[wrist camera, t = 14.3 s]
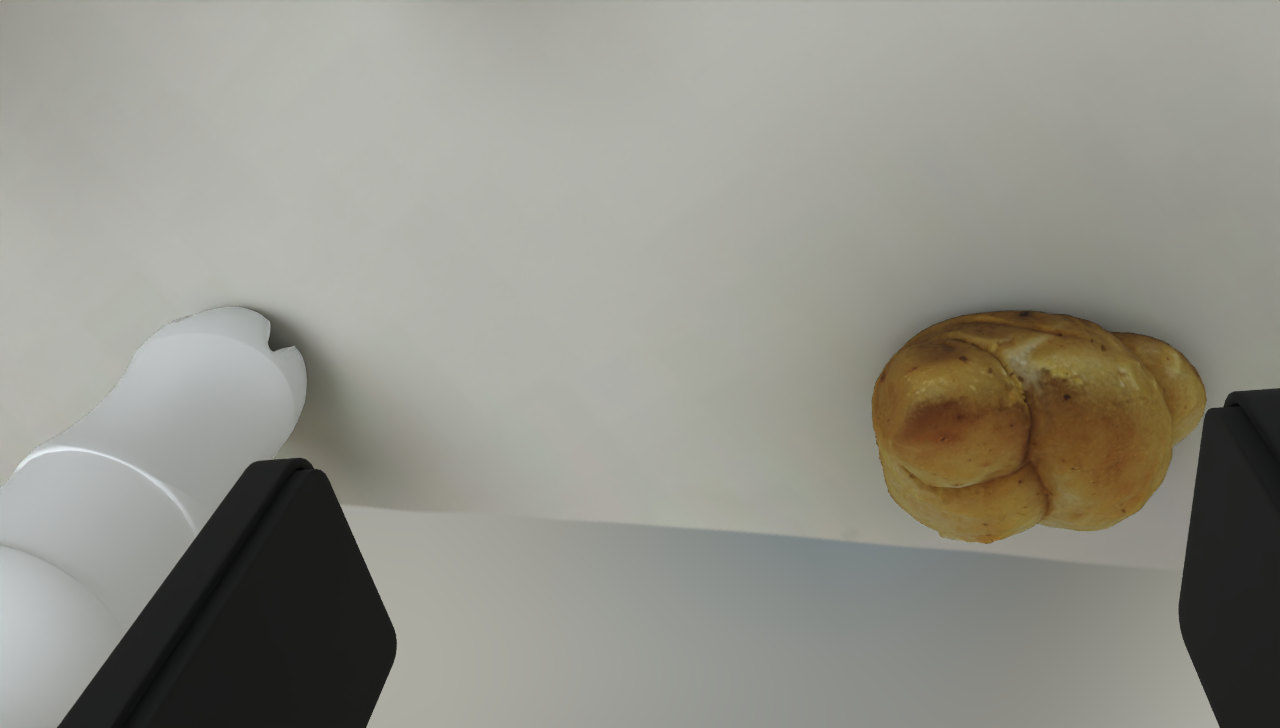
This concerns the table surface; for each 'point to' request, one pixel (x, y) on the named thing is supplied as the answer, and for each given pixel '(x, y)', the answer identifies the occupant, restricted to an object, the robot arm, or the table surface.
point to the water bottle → (130, 499)
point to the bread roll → (1030, 423)
